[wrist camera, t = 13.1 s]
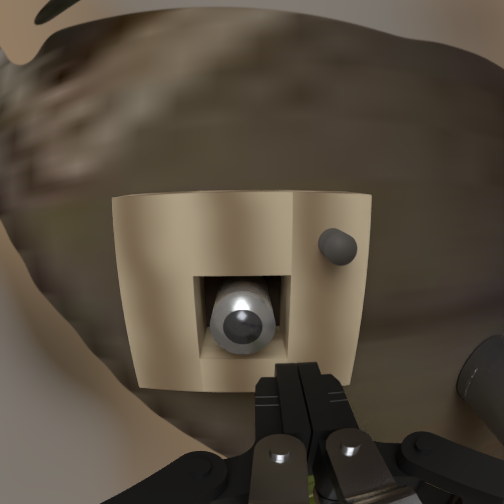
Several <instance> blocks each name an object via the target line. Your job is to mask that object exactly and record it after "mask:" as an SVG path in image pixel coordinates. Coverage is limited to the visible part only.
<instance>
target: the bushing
mask: <svg viewBox="0 0 504 504" xmlns="http://www.w3.org/2000/svg"><path fill="white" fill-rule="evenodd" d="M275 327H276V325H275V318H274V314H273V309H272V305H271V300H270V296H269V291H268V287H267V284H266V282H265V280H264V278H263V277H262V276H224V277H223V278H222V279H221V281H220V283H219V286H218V290H217V294H216V298H215V303H214V307H213V312H212V316H211V321H210V331H211V334H212V336H213V338H214V340H215V342H216V343H217V344H218V345H219V346H220V347H222V348H223V349H225V350H226V351H228V352H231V353H234V354H251V353H255V352H257V351H259V350H261V349H263V348H264V347H266V346H267V345H268V344H269V342H270V341H271V340H272V338H273V336H274V333H275Z"/></svg>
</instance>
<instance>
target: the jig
mask: <svg viewBox="0 0 504 504" xmlns="http://www.w3.org/2000/svg"><path fill="white" fill-rule="evenodd" d="M371 197H372V195H368V194H360V193H352V192H340V191H308V190H216V191H184V192H162V193H144V194H133V195H126V196H120V197H113V198H112V211H113V227H114V239H115V250H116V260H117V268H118V277H119V284H120V291H121V298H122V305H123V311H124V317H125V323H126V328H127V333H128V339H129V344H130V349H131V353H132V358H133V362H134V367H135V371H136V375H137V380H138V384H139V387H142V388H152V389H163V390H178V391H197V392H255V386H256V384H257V383H258V381H259V379H260V378H261V377H274V372H275V363H299V362H317V363H318V366H319V369H320V372H321V374H332V375H333V376H334V377H335V378H337V379H338V380H339V381H340V383H341V385H342V386H344V385H350V380H351V375H352V370H353V365H354V359H355V354H356V348H357V342H358V336H359V329H360V323H361V316H362V308H363V301H364V292H365V284H366V274H367V264H368V252H369V238H370V222H371ZM271 275H281V293H280V324H279V326H276V327H275V333H274V336H273V338H272V340H271V341H270V342H269V344H268V345H267V346H266V347H264V348H263V349H261V350H259V351H257V352H255V353H251V354H234V353H231V352H228V351H226V350H225V349H223V348H222V347H220V346H219V345H218V344H217V343H216V342H215V340H214V338H213V336H212V334H211V331H210V327H207V317H206V302H205V284H204V276H271Z"/></svg>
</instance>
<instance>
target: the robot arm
mask: <svg viewBox="0 0 504 504" xmlns="http://www.w3.org/2000/svg"><path fill="white" fill-rule="evenodd" d="M457 389H458V393H459V394H460V396H461V397H462V398H463V399H464V400H465V401H466V402H467V403H468V405H469V406H470V407H471V408H472V409H473V410H474V412H475V413H476V414H477V415H478V416H479V417H480V419H481V420H482V421H483V422H484V423H485V424H486V426H487V427H488V428H489V429H490V430H491V432H492V433H493V434H494V435H495V436H496V438H497V439H498V440H499V441H500V442H501V444H502V445H503V446H504V338H503V337H502V336H494V337H491V338H489V339H488V340H486V341H485V342H484V343H482V344H481V345H480V346H479V347H478V348H477V349H476V350H475V351H474V353H473V354H472V355H471V356H470V358H469V359H468V361H467V362H466V364H465V365H464V367H463V369H462V371H461V373H460V376H459V379H458V384H457ZM311 475H313V476H314V481H315V485H314V489H313V496H314V500H315V503H316V504H504V461H503V460H501V459H498V458H495V457H492V456H489V455H486V454H483V453H481V452H478V451H475V450H472V449H470V448H467V447H465V446H462V445H459V444H457V443H454V442H452V441H449V440H447V439H445V438H442V437H440V436H437V435H435V434H433V433H430V432H423V431H421V432H414V433H412V434H409V435H408V436H407V437H406V438H405V439H404V440H403V442H402V443H381V442H376V441H373V439H372V438H371V436H370V435H369V434H367V433H366V432H364V431H362V430H360V429H359V427H358V425H357V422H356V420H355V417H354V415H353V412H352V410H351V407H350V405H349V402H348V401H347V397H346V395H345V393H344V390H343V388H342V385H341V383H340V381H339V380H338V379H337V378H335V377H334V376H333V375H332V374H321V372H320V369H319V366H318V363H317V362H299V363H275V372H274V377H261V378H260V379H259V381H258V383H257V384H256V386H255V443H254V445H253V446H252V448H251V449H250V450H248V451H247V452H245V453H244V454H242V455H239V456H236V457H232V458H227V459H222V458H221V457H219V456H218V455H216V454H214V453H211V452H207V451H195V452H190V453H187V454H184V455H183V456H181V457H180V458H178V459H176V460H175V461H173V462H172V463H170V464H169V465H167V466H166V467H164V468H162V469H161V470H159V471H158V472H156V473H154V474H153V475H151V476H150V477H148V478H146V479H144V480H143V481H141V482H139V483H137V484H136V485H134V486H132V487H131V488H129V489H127V490H125V491H123V492H121V493H120V494H118V495H116V496H114V497H112V498H110V499H108V500H106V501H104V502H102V503H100V504H310V502H309V486H308V476H311ZM425 482H427V483H429V484H427V483H425ZM430 484H431V485H430ZM432 485H434V486H436V487H438V488H436V487H434V486H432ZM439 488H441V489H443V490H445V491H443V490H441V489H439ZM446 491H448V492H450V493H448V492H446ZM451 493H453V494H451Z"/></svg>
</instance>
